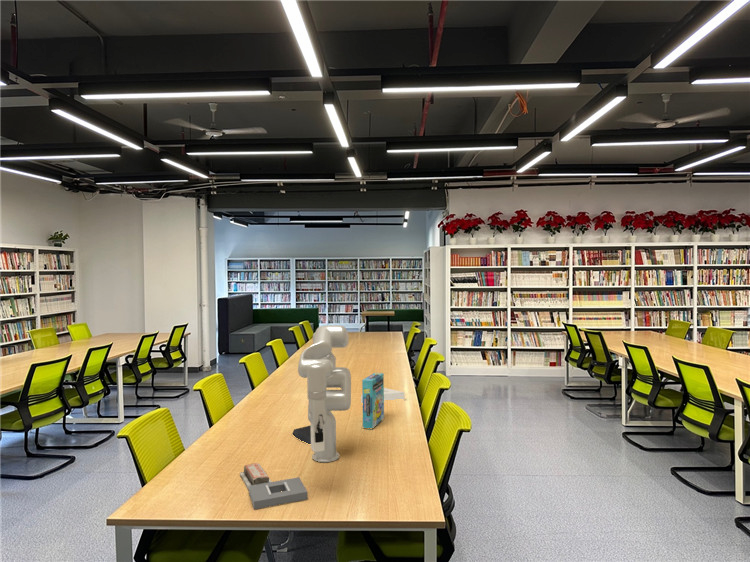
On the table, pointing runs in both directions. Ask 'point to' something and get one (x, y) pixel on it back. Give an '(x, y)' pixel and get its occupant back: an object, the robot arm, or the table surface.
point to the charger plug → (314, 445)
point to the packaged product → (254, 475)
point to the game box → (373, 399)
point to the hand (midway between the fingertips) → (317, 439)
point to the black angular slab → (303, 434)
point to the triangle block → (391, 394)
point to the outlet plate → (277, 493)
